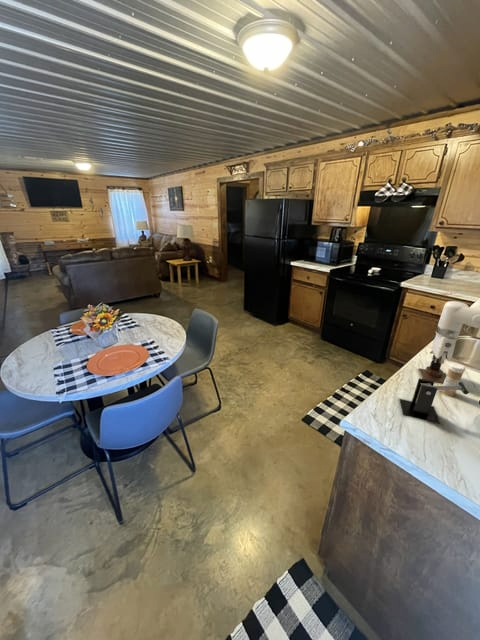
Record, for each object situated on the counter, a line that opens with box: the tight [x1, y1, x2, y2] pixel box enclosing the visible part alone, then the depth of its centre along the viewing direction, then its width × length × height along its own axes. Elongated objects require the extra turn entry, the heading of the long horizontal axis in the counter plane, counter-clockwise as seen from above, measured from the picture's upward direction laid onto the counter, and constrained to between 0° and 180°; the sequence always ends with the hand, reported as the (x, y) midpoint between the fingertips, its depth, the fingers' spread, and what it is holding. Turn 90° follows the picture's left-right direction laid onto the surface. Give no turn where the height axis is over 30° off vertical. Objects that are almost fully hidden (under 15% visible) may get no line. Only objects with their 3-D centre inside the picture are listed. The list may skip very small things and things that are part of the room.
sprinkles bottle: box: [440, 362, 466, 397], centre depth 101 cm, size 5×5×13 cm
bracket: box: [399, 378, 441, 425], centre depth 92 cm, size 11×9×13 cm
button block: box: [418, 365, 447, 384], centre depth 113 cm, size 10×9×4 cm
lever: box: [421, 381, 469, 395], centre depth 88 cm, size 12×5×2 cm, turn 68°
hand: (434, 369), depth 114 cm, fingers closed
